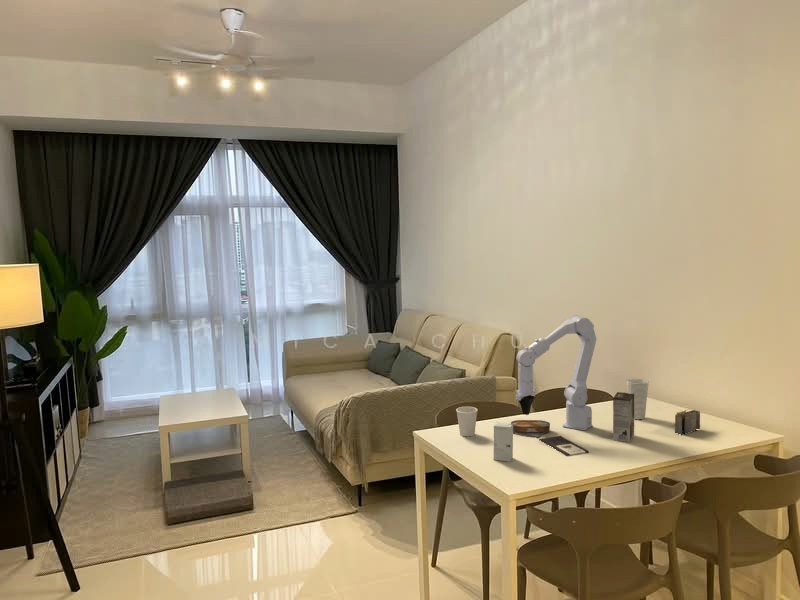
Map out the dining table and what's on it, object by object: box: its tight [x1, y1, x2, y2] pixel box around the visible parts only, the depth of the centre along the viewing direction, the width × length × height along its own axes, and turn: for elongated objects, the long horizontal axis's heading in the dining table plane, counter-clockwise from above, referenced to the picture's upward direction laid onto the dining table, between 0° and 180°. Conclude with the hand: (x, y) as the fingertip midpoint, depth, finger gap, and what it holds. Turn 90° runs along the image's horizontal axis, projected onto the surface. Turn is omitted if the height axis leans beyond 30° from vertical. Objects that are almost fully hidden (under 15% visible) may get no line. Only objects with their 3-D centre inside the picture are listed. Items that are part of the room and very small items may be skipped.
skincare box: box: [492, 421, 514, 463], centre depth 205 cm, size 6×4×12 cm
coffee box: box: [612, 391, 635, 443], centre depth 223 cm, size 9×6×16 cm
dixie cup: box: [455, 406, 478, 437], centre depth 232 cm, size 8×8×10 cm
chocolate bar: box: [539, 435, 590, 457], centre depth 217 cm, size 9×1×18 cm
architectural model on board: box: [674, 409, 701, 435], centre depth 228 cm, size 11×3×10 cm, turn 120°
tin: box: [510, 419, 551, 433], centre depth 234 cm, size 15×3×8 cm
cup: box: [626, 378, 649, 420], centre depth 247 cm, size 8×8×16 cm
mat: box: [513, 431, 547, 439], centre depth 235 cm, size 17×8×1 cm, turn 53°
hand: (526, 414), depth 237 cm, fingers closed
